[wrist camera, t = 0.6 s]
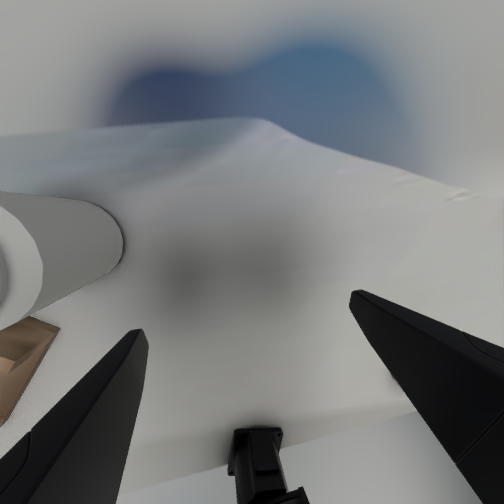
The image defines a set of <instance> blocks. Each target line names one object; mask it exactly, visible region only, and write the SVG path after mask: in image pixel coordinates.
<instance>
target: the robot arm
mask: <svg viewBox="0 0 504 504" xmlns="http://www.w3.org/2000/svg"><path fill="white" fill-rule="evenodd" d="M349 308H350V310H351V312H352V314H353V316H354V317H355V319H356V321H357V323H358V324H359V326H360V328H361V330H362V331H363V333H364V335H365V337H366V338H367V340H368V341H369V343H370V344H371V346H372V347H373V349H374V350H375V351H376V353H377V354H378V356H379V357H380V358H381V360H382V361H383V363H384V364H385V366H386V367H387V368H388V370H389V371H390V373H391V374H392V375H393V377H394V378H395V380H396V381H397V383H398V384H399V385H400V387H401V388H402V390H403V391H404V392H405V394H406V395H407V397H408V398H409V399H410V401H411V402H412V404H413V405H414V407H415V408H416V409H417V411H418V412H419V414H420V415H421V416H422V418H423V419H424V421H425V422H426V424H427V425H428V426H429V428H430V429H431V431H432V432H433V433H434V435H435V436H436V438H437V439H438V440H439V442H440V443H441V445H442V446H443V448H444V449H445V450H446V452H447V453H448V455H449V456H450V457H451V459H452V460H453V462H454V463H455V465H456V466H457V468H458V469H459V470H460V472H461V473H462V474H463V476H464V477H465V479H466V480H467V482H468V483H469V485H470V486H471V487H472V489H473V490H474V492H475V493H476V494H477V496H478V497H479V499H480V500H481V501H482V503H483V504H504V348H503V347H500V346H497V345H495V344H492V343H490V342H487V341H485V340H482V339H480V338H478V337H475V336H473V335H470V334H468V333H466V332H463V331H460V330H458V329H456V328H453V327H451V326H449V325H446V324H444V323H441V322H439V321H437V320H434V319H432V318H429V317H427V316H425V315H422V314H420V313H417V312H415V311H413V310H410V309H408V308H405V307H403V306H401V305H398V304H396V303H393V302H391V301H388V300H386V299H384V298H381V297H379V296H376V295H374V294H372V293H369V292H367V291H364V290H355V291H353V292H352V293H351V298H350V302H349ZM148 349H149V345H148V341H147V339H146V336H145V334H144V331H143V330H142V329H135V330H130V331H129V332H128V333H127V334H126V335H125V336H124V337H123V338H122V339H121V340H120V341H119V342H118V343H117V344H116V345H115V346H114V347H113V348H112V349H111V350H110V351H109V352H108V353H107V354H106V355H105V356H104V357H103V358H102V359H101V360H100V361H99V362H98V363H97V364H96V365H95V366H94V367H93V368H92V369H91V370H90V371H89V372H88V373H87V374H86V375H85V376H84V377H83V378H82V379H81V380H80V381H79V382H78V383H77V384H76V385H75V386H74V387H73V388H72V389H71V390H70V391H69V392H68V393H67V394H66V395H65V396H64V397H63V398H62V399H61V400H60V401H59V402H58V403H57V404H56V405H55V406H54V407H53V408H52V409H51V410H50V411H49V412H48V413H47V414H46V415H45V416H44V417H43V418H42V419H41V420H40V421H39V422H38V423H37V424H36V425H35V426H34V427H33V428H32V429H31V431H29V432H27V433H26V434H25V435H24V436H23V437H22V438H21V439H20V440H19V441H18V442H17V443H16V444H15V445H14V446H13V447H12V448H11V449H10V450H9V451H8V452H7V453H6V454H5V455H4V456H3V457H2V458H1V459H0V504H116V500H117V496H118V492H119V488H120V484H121V480H122V476H123V471H124V467H125V463H126V459H127V455H128V451H129V447H130V442H131V438H132V434H133V430H134V426H135V422H136V418H137V413H138V409H139V405H140V401H141V397H142V392H143V387H144V380H145V372H146V365H147V357H148ZM282 437H283V432H282V429H280V428H274V429H250V430H236V431H235V432H234V435H233V440H232V446H231V452H230V458H229V463H228V469H227V470H228V475H229V476H235V482H236V494H237V504H310V503H309V501H308V498H307V496H306V494H305V491H304V488H303V487H299V488H298V489H297V490H294V491H291V492H289V491H288V487H287V484H286V480H285V476H284V472H283V469H282V465H281V461H280V458H279V451H280V446H281V441H282Z"/></svg>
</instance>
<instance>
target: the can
mask: <svg viewBox="0 0 504 504" xmlns="http://www.w3.org/2000/svg"><path fill="white" fill-rule="evenodd" d="M122 249H123V239H122V235H121V231H120V229H119V227H118V225H117V224H116V222H115V221H114V219H113V218H112V217H111V216H110V215H109V214H108V213H106V212H105V211H104V210H103V209H102V208H100V207H98V206H95V205H93V204H91V203H89V202H85V201H79V200H73V199H65V198H56V197H48V196H39V195H30V194H22V193H13V192H5V191H0V330H2V329H4V328H6V327H8V326H10V325H12V324H14V323H16V322H18V321H20V320H22V319H24V318H26V317H28V316H29V315H31V314H33V313H35V312H37V311H39V310H41V309H42V308H44V307H46V306H48V305H50V304H52V303H54V302H55V301H57V300H59V299H61V298H63V297H65V296H67V295H69V294H70V293H72V292H74V291H76V290H78V289H80V288H82V287H83V286H85V285H87V284H89V283H91V282H93V281H95V280H96V279H98V278H100V277H102V276H104V275H106V274H108V273H109V272H110V271H111V270H112V269H113V268H114V267H115V266H116V265H117V263H118V261H119V259H120V257H121V255H122Z"/></svg>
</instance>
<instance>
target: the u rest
mask: <svg viewBox="0 0 504 504" xmlns="http://www.w3.org/2000/svg"><path fill="white" fill-rule="evenodd" d="M59 330H60V328H57V327H55V326H52V325H50V324H47V323H45V322H42V321H40V320H37V319H34V318H32V317H29V316H28V317H26V318H24V319H22V320H20V321H18V322H16V323H14V324H12V325H10V326H8V327H6V328H4V329H2V330H0V427H1V426H2V425H3V424H4V423H5V422H6V421H7V420H8V418H9V416H10V415H11V413H12V411H13V409H14V408H15V406H16V404H17V402H18V401H19V399H20V397H21V396H22V394H23V392H24V390H25V389H26V387H27V385H28V383H29V382H30V380H31V378H32V376H33V375H34V373H35V371H36V370H37V368H38V366H39V364H40V363H41V361H42V359H43V357H44V356H45V354H46V352H47V351H48V349H49V347H50V345H51V344H52V342H53V340H54V338H55V337H56V335H57V333H58V332H59Z"/></svg>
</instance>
